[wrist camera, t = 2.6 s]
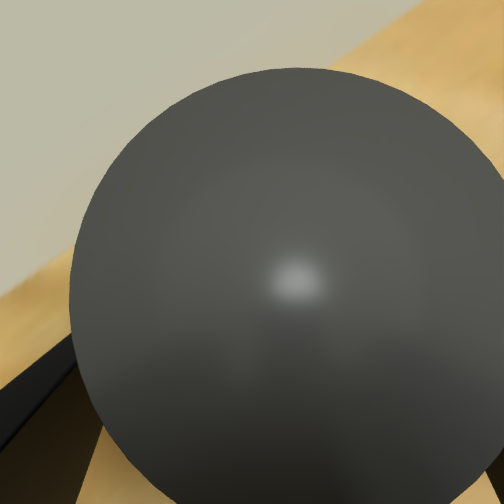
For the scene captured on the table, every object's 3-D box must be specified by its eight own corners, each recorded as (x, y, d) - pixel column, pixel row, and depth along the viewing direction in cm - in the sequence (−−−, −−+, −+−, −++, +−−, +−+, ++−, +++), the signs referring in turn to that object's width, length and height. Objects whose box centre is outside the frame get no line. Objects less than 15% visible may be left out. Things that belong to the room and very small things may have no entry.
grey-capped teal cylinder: (321, 350, 16) (590, 542, 3) (208, 352, 16) (43, 551, 3) (315, 240, 17) (502, 65, 4) (210, 241, 17) (90, 69, 4)
